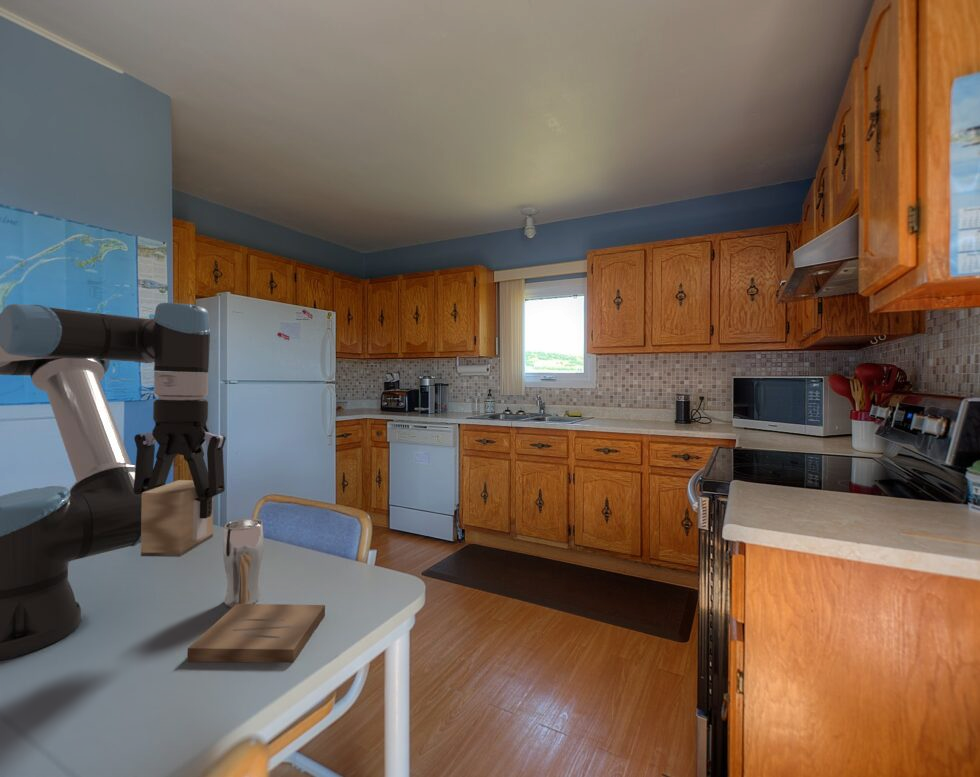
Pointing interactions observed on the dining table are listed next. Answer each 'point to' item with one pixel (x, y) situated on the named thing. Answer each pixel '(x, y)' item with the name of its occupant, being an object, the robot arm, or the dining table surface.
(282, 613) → the board
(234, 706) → the dining table surface
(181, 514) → the block
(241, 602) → the beer glass
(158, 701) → the dining table surface
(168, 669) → the dining table surface
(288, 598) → the dining table surface
